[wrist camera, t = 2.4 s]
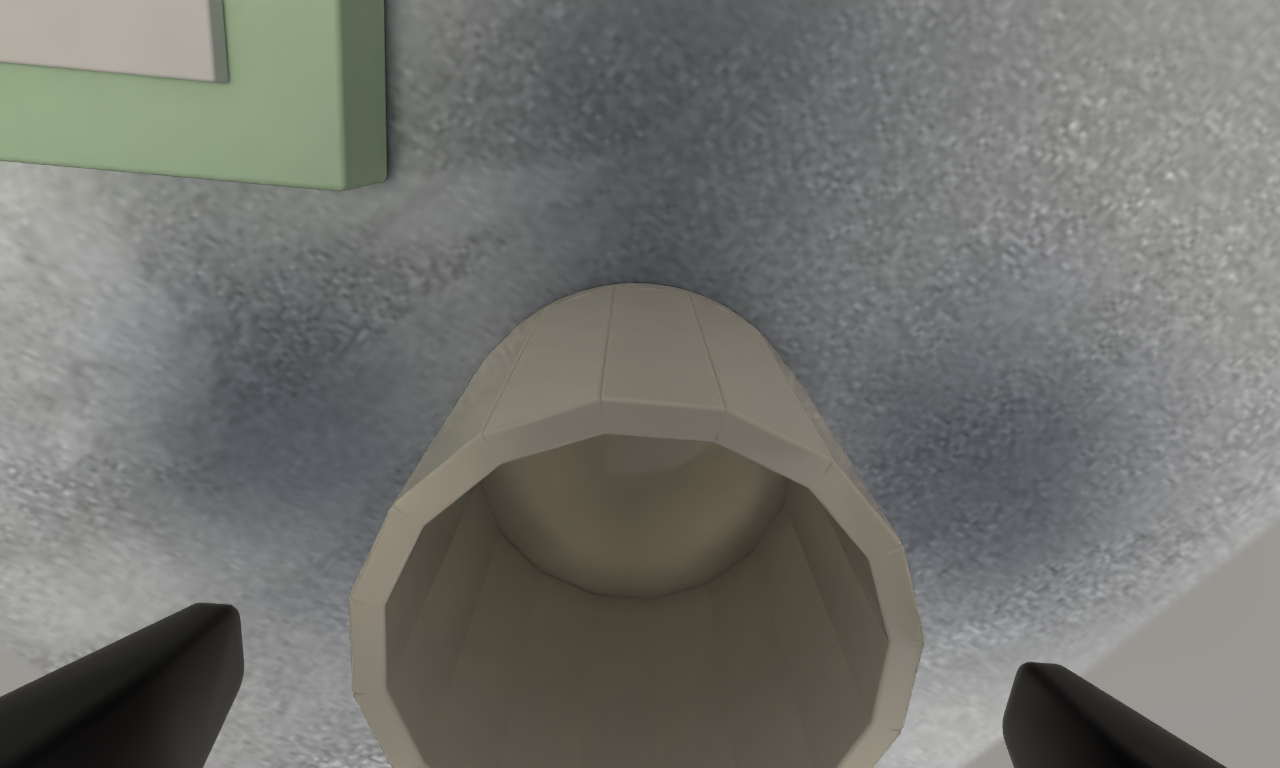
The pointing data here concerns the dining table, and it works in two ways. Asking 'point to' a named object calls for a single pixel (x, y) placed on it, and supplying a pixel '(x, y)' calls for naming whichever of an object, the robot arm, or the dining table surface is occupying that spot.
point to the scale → (198, 88)
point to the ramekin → (635, 561)
